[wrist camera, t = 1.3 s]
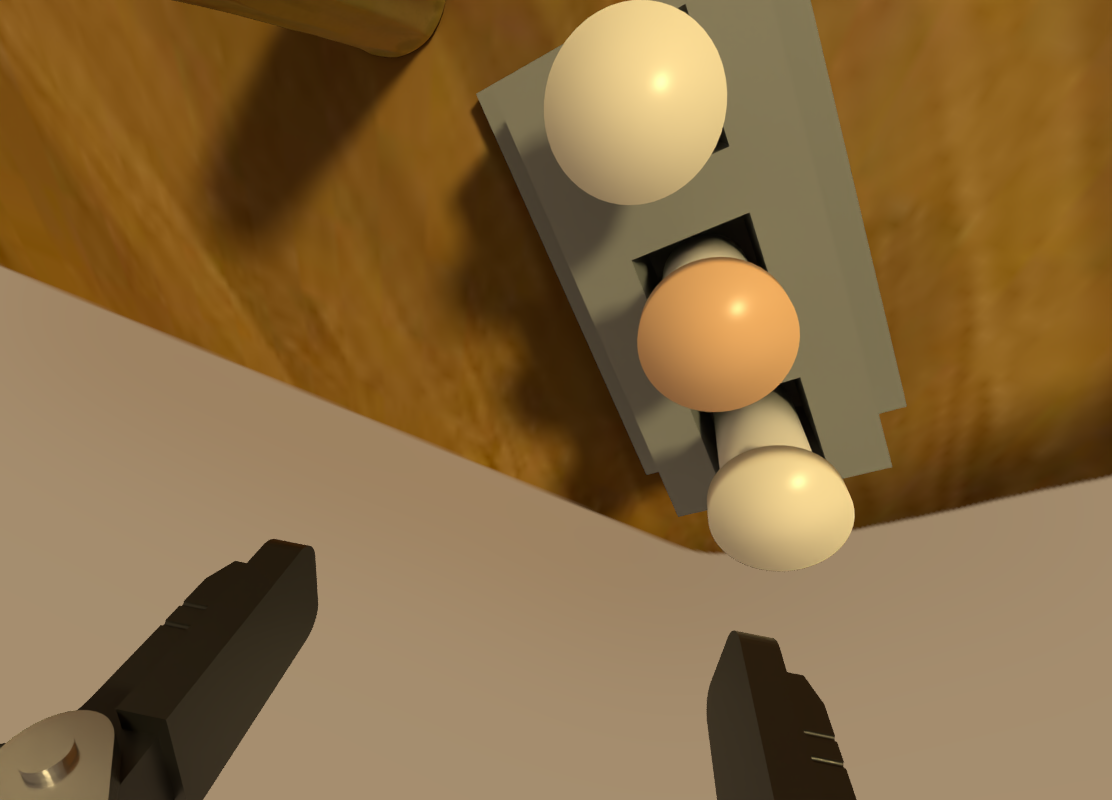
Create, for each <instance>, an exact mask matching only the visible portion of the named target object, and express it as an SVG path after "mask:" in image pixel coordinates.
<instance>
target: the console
mask: <svg viewBox="0 0 1112 800" xmlns="http://www.w3.org/2000/svg"><path fill="white" fill-rule="evenodd" d="M651 1H657V2H662V3H665V4H668V5H671V6H673V7H675V8H677V9H679V10H681V11H683V12H685V13H686V14H687V15H689V16H690V17H691V18H693V19H694V20H695V21H696V22H697V23H698V24H699V25H700V26H701V27H702V28H703V29H704V30H705V32H706V33H707V34H708V36H709V37H710V38H711V40H712V42H713V43H714V45H715V47H716V49H717V51H718V53H719V56H720V59H721V61H722V64H723V68H724V72H725V77H726V85H727V108H726V115H725V121H724V124H723V128H722V132H721V135H720V137H719V140H718V142H717V145H716V147H715V149H714V150H713V152H712V154H711V156H710V158H709V159H708V161H707V162H706V163H705V165H704V166H703V168H702V169H701V170H700V171H699V172H698V173H697V174H696V176H695V177H694V178H693V179H691V180H690V181H689V182H688V183H687V184H686V185H685V186H683V187H682V188H680V189H679V190H677V191H676V192H674V193H673V194H671V195H669V196H667V197H665V198H662V199H660V200H657V201H654V202H650V203H646V204H640V205H619V204H614V203H609V202H606V201H603V200H600V199H598V198H596V197H594V196H592V195H590V194H588V193H586V192H585V191H583V190H582V189H581V188H579V187H578V186H577V185H576V184H575V183H574V182H573V181H571V179H570V178H569V177H568V176H567V175H566V174H565V172H564V171H563V170H562V168H561V167H560V165H559V164H558V162H557V160H556V158H555V156H554V154H553V152H552V150H551V147H550V144H549V141H548V138H547V133H546V129H545V121H544V97H545V89H546V85H547V80H548V76H549V73H550V70H551V68H552V65H553V62H554V60H555V58H556V56H557V54H558V52H559V51H560V49H561V47H562V46H563V44H562V45H561V46H559V47H557V48H555V49H554V50H552V51H550V52H549V53H547V54H545V55H543V56H542V57H540V58H538V59H536V60H535V61H533V62H531V63H529V64H528V65H526V66H524V67H522V68H521V69H519V70H517V71H515V72H514V73H512V74H510V75H508V76H507V77H505V78H503V79H501V80H500V81H498V82H496V83H494V84H493V85H491V86H489V87H487V88H486V89H484V90H482V91H480V92H479V93H477V94H476V95H477V97H478V99H479V102H480V104H481V106H482V108H483V111H484V113H485V115H486V117H487V120H488V122H489V124H490V126H491V128H492V131H493V133H494V135H495V137H496V140H497V142H498V144H499V146H500V149H501V151H502V153H503V155H504V157H505V160H506V162H507V164H508V166H509V169H510V171H511V173H512V175H513V178H514V180H515V182H516V184H517V187H518V189H519V191H520V193H521V195H522V198H523V200H524V202H525V204H526V207H527V209H528V211H529V213H530V216H531V218H532V220H533V222H534V225H535V227H536V229H537V231H538V233H539V236H540V238H541V240H542V242H543V245H544V247H545V249H546V251H547V254H548V256H549V258H550V260H551V263H552V265H553V267H554V269H555V271H556V274H557V276H558V278H559V280H560V283H561V285H562V287H563V289H564V292H565V294H566V296H567V298H568V301H569V303H570V305H571V307H572V309H573V312H574V314H575V316H576V318H577V321H578V323H579V325H580V327H581V330H582V332H583V334H584V336H585V339H586V341H587V343H588V345H589V347H590V350H591V352H592V354H593V356H594V359H595V361H596V363H597V365H598V368H599V370H600V372H601V374H602V377H603V379H604V381H605V383H606V385H607V388H608V390H609V392H610V394H611V397H612V399H613V401H614V403H615V406H616V408H617V410H618V412H619V414H620V417H621V419H622V421H623V423H624V426H625V428H626V430H627V432H628V435H629V437H630V439H631V441H632V444H633V446H634V448H635V450H636V452H637V455H638V457H639V459H640V461H641V464H642V466H643V468H644V470H645V473H646V475H649V474H652V473H656V472H659V474H660V476H661V478H662V481H663V483H664V485H665V488H666V490H667V492H668V494H669V497H670V499H671V501H672V504H673V506H674V508H675V510H676V513H677V515H678V517H679V516H683V515H688V514H692V513H696V512H701V511H705V510H707V494H708V489H709V486H710V483H711V481H712V479H713V478H714V476H715V474H716V473H717V472H718V470H719V469H720V468H719V459H718V450H717V442H716V433H715V425H714V416H713V412H705V411H698V410H693V409H689V408H687V407H684V406H681V405H679V404H677V403H675V402H673V401H671V400H670V399H668V398H667V397H665V396H664V395H663V394H662V393H660V392H659V391H658V390H657V389H656V388H655V387H654V386H653V384H652V383H651V382H650V380H649V379H648V377H647V376H646V374H645V372H644V370H643V368H642V365H641V362H640V360H639V355H638V348H637V337H638V329H639V323H640V319H641V314H642V311H643V308H644V306H645V303H646V301H647V299H648V298H649V296H650V294H651V293H652V291H653V290H654V289H655V287H656V286H657V285H658V284H659V283H660V282H661V281H662V278H663V270H664V266H665V263H666V260H667V259H668V257H669V255H670V254H671V252H672V251H673V250H674V249H675V248H676V246H678V245H679V244H680V243H681V242H683V241H684V240H686V239H688V238H690V237H693V236H696V235H700V234H708V233H709V234H718V235H722V236H725V237H727V238H729V239H731V240H732V241H734V242H735V243H736V244H737V245H738V246H739V247H740V248H741V249H742V251H743V252H744V254H745V256H746V258H747V260H748V262H751V263H753V264H755V265H757V266H759V267H761V268H763V269H764V270H765V271H767V272H768V273H770V274H771V275H772V276H773V277H774V278H775V279H776V280H777V281H778V282H779V284H780V285H781V286H782V287H783V289H784V291H785V292H786V294H787V296H788V297H789V299H790V301H791V302H792V304H793V306H794V308H795V311H796V314H797V317H798V321H799V327H800V341H799V348H798V352H797V356H796V358H795V361H794V363H793V366H792V367H791V369H790V371H789V373H788V374H787V375H786V377H785V378H784V380H783V381H782V382H781V383H780V384H779V385H781V386H782V387H783V388H784V389H785V390H786V391H787V392H788V394H789V395H790V397H791V400H792V402H793V405H794V407H795V410H796V412H797V415H798V417H799V420H800V422H801V425H802V428H803V430H804V433H805V435H806V438H807V440H808V443H809V445H810V448H811V450H812V452H813V453H816V454H818V455H820V456H821V457H823V458H824V459H826V460H827V461H828V462H829V463H830V464H832V465H833V466H834V467H835V469H836V470H837V471H838V472H839V474H840V476H841V477H842V479H843V478H847V477H851V476H856V475H860V474H864V473H869V472H873V471H877V470H881V469H886V468H890V467H892V464H891V460H890V456H889V452H888V448H887V445H886V441H885V437H884V433H883V429H882V425H881V421H880V418H879V414H880V413H883V412H887V411H891V410H895V409H899V408H902V407H906V406H907V405H906V401H905V397H904V393H903V388H902V384H901V380H900V376H899V371H898V367H897V363H896V359H895V355H894V350H893V346H892V342H891V338H890V333H889V329H888V325H887V321H886V317H885V312H884V308H883V304H882V300H881V296H880V291H879V287H878V283H877V279H876V274H875V270H874V266H873V262H872V258H871V253H870V249H869V245H868V241H867V237H866V232H865V228H864V224H863V220H862V215H861V211H860V207H859V203H858V199H857V194H856V190H855V186H854V182H853V177H852V173H851V169H850V165H849V161H848V156H847V152H846V148H845V144H844V140H843V135H842V131H841V127H840V123H839V118H838V114H837V110H836V106H835V102H834V97H833V93H832V89H831V85H830V80H829V76H828V72H827V68H826V64H825V59H824V55H823V51H822V47H821V43H820V38H819V34H818V30H817V26H816V21H815V17H814V13H813V9H812V5H811V0H651Z"/></svg>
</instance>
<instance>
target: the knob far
mask: <svg viewBox="0 0 1112 800" xmlns="http://www.w3.org/2000/svg"><path fill="white" fill-rule="evenodd" d="M713 416H714V425H715V433H716V442H717V450H718V459H719V468H720V469H719V470H718V472H717V473H716V474H715V476H714V478H713V479H712V481H711V483H710V486H709V489H708V494H707V510H708V522H709V528H710V531H711V534H712V536H713V538H714V540H715V541H716V543H717V544H718V545H719V547H720V548H721V549H722V550H723V551H724V552H725V553H727V554H728V555H729V556H730V557H732V558H733V559H735V560H737V561H738V562H740V563H742V564H744V565H747V566H750V567H753V568H757V569H761V570H767V571H793V570H799V569H803V568H807V567H810V566H813V565H816V564H818V563H820V562H822V561H824V560H826V559H827V558H829V557H830V556H832V555H833V554H834V553H835V552H837V551H838V550H839V549H840V548H841V547H842V546H843V544H844V543H845V542H846V540H847V538H848V537H849V535H850V533H851V531H852V528H853V525H854V518H855V515H854V506H853V502H852V499H851V497H850V495H849V492H848V490H847V488H846V486H845V483H844V481H843V479H842V477H841V476H840V474H839V472H838V471H837V470H836V469H835V467H834V466H833V465H832V464H830V463H829V462H828V461H827V460H826V459H824V458H823V457H821V456H820V455H818V454H816V453H813V452H812V450H811V448H810V445H809V443H808V440H807V438H806V435H805V433H804V430H803V428H802V425H801V422H800V420H799V417H798V415H797V412H796V410H795V407H794V405H793V402H792V400H791V397H790V395H789V394H788V392H787V391H786V390H785V389H784V388H783V387H782V386H781V385H778V386H777V387H776V388H775V389H774V390H773V391H772V392H770V393H769V394H768V395H767V396H765V397H763V398H762V399H760V400H759V401H757V402H755V403H753V404H751V405H748V406H745V407H742V408H740V409H735V410H731V411H724V412H713Z"/></svg>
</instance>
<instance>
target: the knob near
mask: <svg viewBox="0 0 1112 800" xmlns="http://www.w3.org/2000/svg"><path fill="white" fill-rule="evenodd" d="M726 108H727V85H726V77H725V72H724V68H723V64H722V61H721V59H720V56H719V53H718V51H717V49H716V47H715V45H714V43H713V42H712V40H711V38H710V37H709V36H708V34H707V33H706V32H705V30H704V29H703V28H702V27H701V26H700V25H699V24H698V23H697V22H696V21H695V20H694V19H693V18H691V17H690V16H689V15H687V14H686V13H685V12H683V11H681V10H679V9H677V8H675V7H673V6H671V5H668V4H665V3H662V2H657V1H651V0H632V1H626V2H621V3H617V4H614V5H611V6H609V7H607V8H604V9H602V10H600V11H598V12H597V13H595V14H594V15H592V16H591V17H589V18H588V19H586V20H585V21H584V22H583V23H582V24H581V25H580V26H578V27H577V28H576V29H575V30H574V32H573V33H572V34H571V35H570V36H569V37H568V39H567V40H566V41H565V43H564V44H563V46H562V47H561V49H560V51H559V52H558V54H557V56H556V58H555V60H554V62H553V65H552V68H551V70H550V73H549V76H548V80H547V85H546V89H545V97H544V121H545V129H546V133H547V138H548V141H549V144H550V147H551V150H552V152H553V154H554V156H555V158H556V160H557V162H558V164H559V165H560V167H561V168H562V170H563V171H564V172H565V174H566V175H567V176H568V177H569V178H570V179H571V181H573V182H574V183H575V184H576V185H577V186H578V187H579V188H581V189H582V190H583V191H585V192H586V193H588V194H590V195H592V196H594V197H596V198H598V199H600V200H603V201H606V202H609V203H614V204H619V205H640V204H646V203H650V202H654V201H657V200H660V199H662V198H665V197H667V196H669V195H671V194H673V193H674V192H676V191H677V190H679V189H680V188H682V187H683V186H685V185H686V184H687V183H688V182H689V181H690V180H691V179H693V178H694V177H695V176H696V174H697V173H698V172H699V171H700V170H701V169H702V168H703V166H704V165H705V163H706V162H707V161H708V159H709V158H710V156H711V154H712V152H713V150H714V149H715V147H716V145H717V142H718V140H719V137H720V135H721V132H722V128H723V124H724V121H725V115H726Z"/></svg>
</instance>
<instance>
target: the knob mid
mask: <svg viewBox="0 0 1112 800" xmlns="http://www.w3.org/2000/svg"><path fill="white" fill-rule="evenodd" d="M799 341H800V327H799V321H798V317H797V314H796V311H795V308H794V306H793V304H792V302H791V301H790V299H789V297H788V296H787V294H786V292H785V291H784V289H783V287H782V286H781V285H780V284H779V282H778V281H777V280H776V279H775V278H774V277H773V276H772V275H771V274H770V273H768V272H767V271H765V270H764V269H763V268H761V267H759V266H757V265H755V264H753V263H751V262H748V260H747V258H746V256H745V254H744V252H743V251H742V249H741V248H740V247H739V246H738V245H737V244H736V243H735V242H734V241H732V240H731V239H729V238H727V237H725V236H722V235H718V234H709V233H708V234H700V235H696V236H693V237H690V238H688V239H686V240H684V241H683V242H681V243H680V244H679V245H678V246H676V248H675V249H674V250H673V251H672V252H671V254H670V255H669V257H668V259H667V260H666V263H665V266H664V270H663V278H662V281H661V282H660V283H659V284H658V285H657V286H656V287H655V289H654V290H653V291H652V293H651V294H650V296H649V298H648V299H647V301H646V303H645V306H644V308H643V311H642V314H641V319H640V323H639V329H638V337H637V348H638V355H639V360H640V362H641V365H642V368H643V370H644V372H645V374H646V376H647V377H648V379H649V380H650V382H651V383H652V384H653V386H654V387H655V388H656V389H657V390H658V391H659V392H660V393H662V394H663V395H664V396H665V397H667V398H668V399H670V400H671V401H673V402H675V403H677V404H679V405H681V406H684V407H687V408H689V409H693V410H698V411H705V412H724V411H731V410H735V409H740V408H742V407H745V406H748V405H751V404H753V403H755V402H757V401H759V400H760V399H762V398H763V397H765V396H767V395H768V394H769V393H770V392H772V391H773V390H774V389H775V388H776V387H777V386H778V385H779V384H780V383H781V382H782V381H783V380H784V378H785V377H786V375H787V374H788V373H789V371H790V369H791V367H792V366H793V363H794V361H795V358H796V356H797V352H798V348H799Z"/></svg>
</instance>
